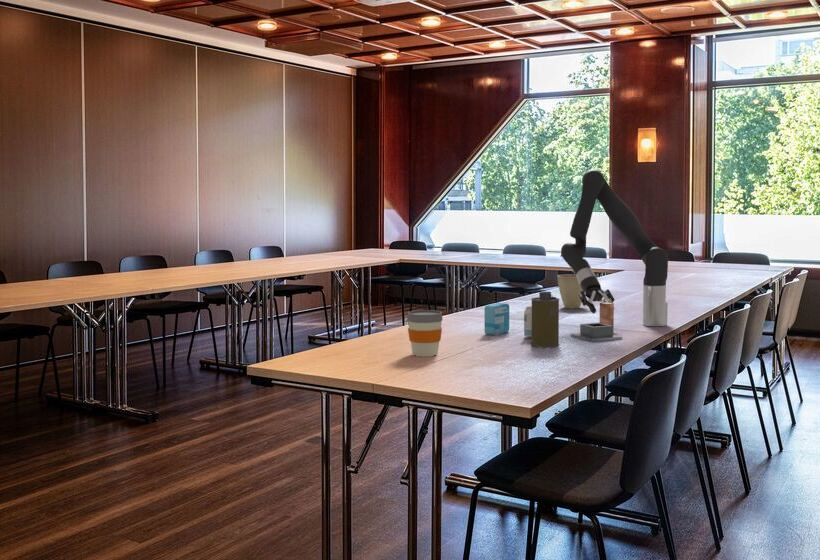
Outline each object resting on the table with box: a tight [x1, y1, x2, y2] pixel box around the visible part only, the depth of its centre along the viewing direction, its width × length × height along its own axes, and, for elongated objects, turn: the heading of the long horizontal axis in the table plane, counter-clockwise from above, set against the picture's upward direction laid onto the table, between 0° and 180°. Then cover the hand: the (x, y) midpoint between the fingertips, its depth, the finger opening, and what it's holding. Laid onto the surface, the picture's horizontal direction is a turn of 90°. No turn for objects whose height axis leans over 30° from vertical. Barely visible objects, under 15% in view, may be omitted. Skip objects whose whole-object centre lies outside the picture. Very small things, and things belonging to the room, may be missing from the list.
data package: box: [484, 302, 510, 336], centre depth 340 cm, size 12×4×12 cm, turn 142°
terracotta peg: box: [599, 301, 615, 334], centre depth 339 cm, size 4×4×12 cm
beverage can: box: [523, 306, 532, 340], centre depth 329 cm, size 7×7×12 cm
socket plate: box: [570, 322, 623, 343], centre depth 327 cm, size 14×14×5 cm
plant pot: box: [557, 273, 583, 309], centre depth 414 cm, size 15×15×16 cm
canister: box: [530, 291, 560, 348], centre depth 312 cm, size 11×10×20 cm
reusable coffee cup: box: [406, 309, 443, 357], centre depth 296 cm, size 13×13×15 cm
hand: (603, 311), depth 341 cm, fingers open, 8 cm apart
